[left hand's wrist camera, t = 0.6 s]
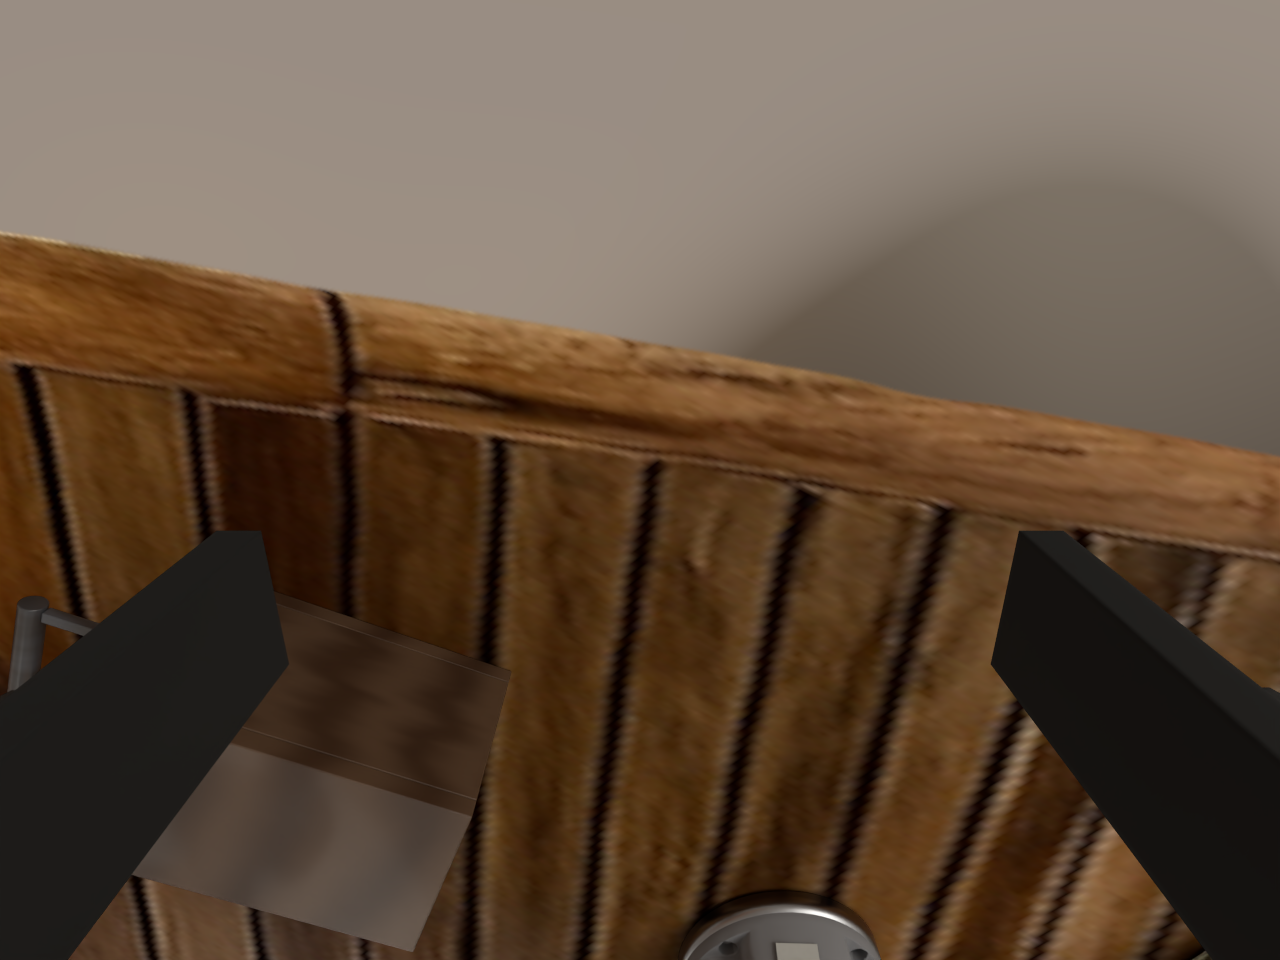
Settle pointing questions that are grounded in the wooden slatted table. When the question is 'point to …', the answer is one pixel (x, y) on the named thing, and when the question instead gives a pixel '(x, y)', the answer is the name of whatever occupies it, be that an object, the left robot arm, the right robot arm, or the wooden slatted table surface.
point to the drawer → (37, 636)
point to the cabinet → (342, 782)
